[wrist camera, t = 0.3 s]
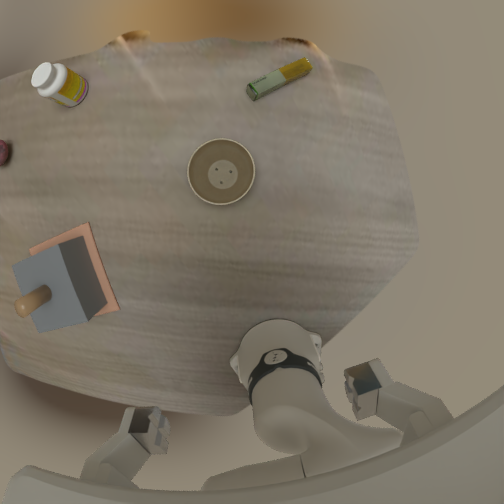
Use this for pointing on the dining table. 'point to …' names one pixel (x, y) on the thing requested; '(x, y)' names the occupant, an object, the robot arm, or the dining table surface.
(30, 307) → the cover
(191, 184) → the flower pot
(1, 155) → the vegetable
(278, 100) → the dining table surface
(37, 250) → the mat
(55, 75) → the supplement bottle
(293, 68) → the medication box
